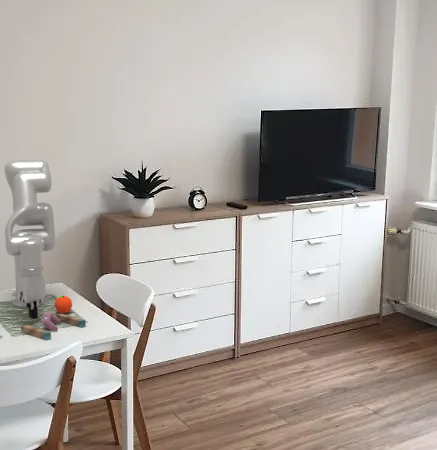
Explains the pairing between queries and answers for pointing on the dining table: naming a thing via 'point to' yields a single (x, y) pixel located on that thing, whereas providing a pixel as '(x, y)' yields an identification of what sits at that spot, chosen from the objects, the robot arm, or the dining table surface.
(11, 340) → the dining table surface
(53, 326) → the video game controller
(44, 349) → the dining table surface
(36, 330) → the channel
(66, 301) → the clementine
